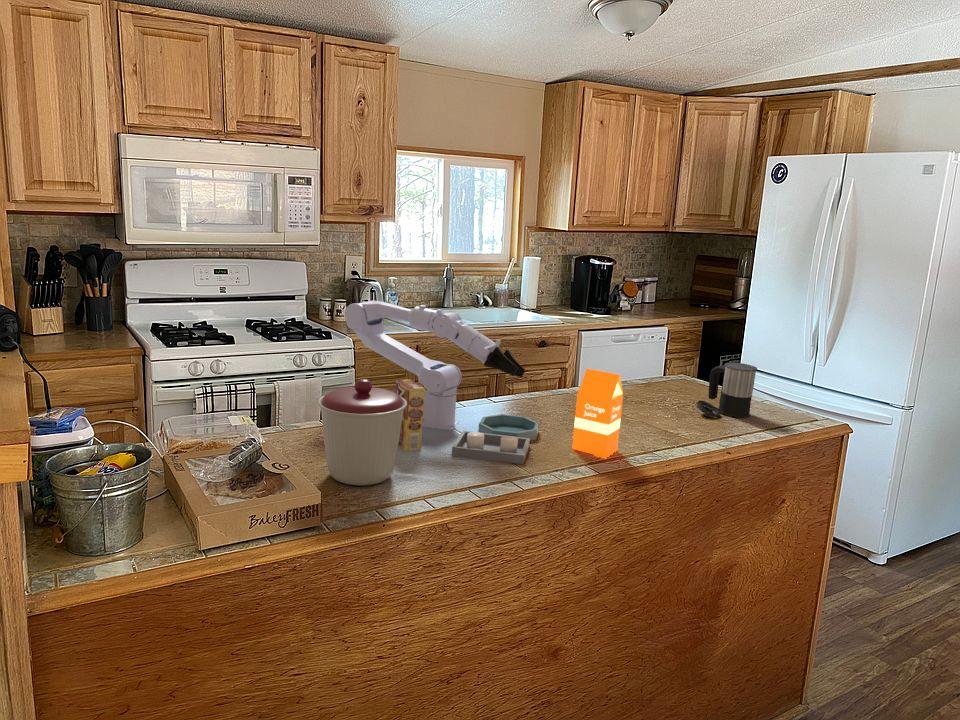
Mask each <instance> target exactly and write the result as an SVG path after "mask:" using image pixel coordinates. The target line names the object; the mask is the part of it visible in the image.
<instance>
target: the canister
mask: <svg viewBox="0 0 960 720" xmlns="http://www.w3.org/2000/svg"><path fill="white" fill-rule="evenodd" d="M317 405H318V407H319V408H320V410H321V411H320V412H321V423H322V429H323V430H322V432H323V443H324V451H325V459H326V466H327V469H328V470H327V471H328V472H329V474H330V475H331V477H332V478H333V479H334V480H335V481H337V482H339V483H341V484H345V485H348V486H349V485H350V486H351V485H352V486H371V485H375V484H380V483H383V482H384V481H386V480H387V479H388V478H389V477H390V476H391V475H392V473H393V471H394V468H395V465H396V459H397V455H398V449H399V444H398V443H399V437H400V430H401V424H402V417H403V410H404V409H405V408H406V406H407V401H406V400H405V399H404V398H402V397H400V396H399V395H398V394H396V392H395V391H391V390H389V389H386V388H379V387H373V384H372V382H371V381H370V379H369V380H368V379H366V378H362V379H361V378H360V379H358V380H356V381H355V383H354V386H350V387H341V388H337V389H334V390H331V391H329V392H327V393H326V394H324V395H322V396H321V397H319V399H318V400H317Z"/></svg>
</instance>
